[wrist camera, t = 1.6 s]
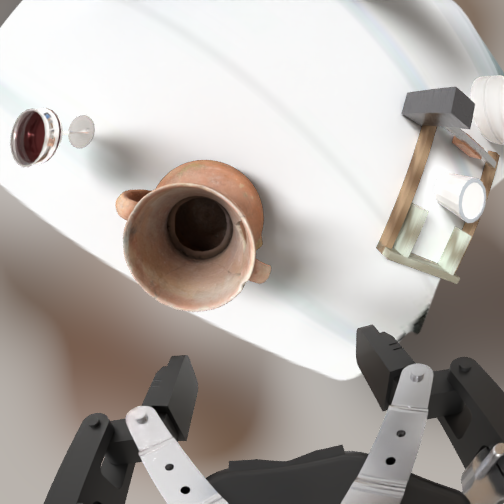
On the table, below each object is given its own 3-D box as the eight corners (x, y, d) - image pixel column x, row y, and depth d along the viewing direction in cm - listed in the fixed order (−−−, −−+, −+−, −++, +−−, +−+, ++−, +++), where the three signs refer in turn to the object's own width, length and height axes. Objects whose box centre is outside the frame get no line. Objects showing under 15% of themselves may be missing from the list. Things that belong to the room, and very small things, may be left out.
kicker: (407, 92, 29) (456, 86, 19) (484, 152, 31) (528, 164, 21) (401, 113, 30) (450, 112, 20) (479, 170, 33) (523, 185, 23)
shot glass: (447, 217, 37) (472, 231, 30) (425, 194, 35) (452, 207, 29) (465, 185, 34) (491, 195, 28) (444, 160, 33) (472, 168, 27)
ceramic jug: (290, 196, 35) (314, 230, 22) (238, 281, 40) (233, 346, 27) (169, 133, 32) (123, 130, 19) (129, 226, 37) (79, 269, 24)
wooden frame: (428, 100, 29) (444, 99, 26) (491, 153, 32) (506, 157, 28) (376, 247, 39) (387, 259, 35) (445, 273, 41) (457, 284, 38)
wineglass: (63, 114, 29) (9, 116, 18) (99, 105, 29) (47, 100, 18) (64, 157, 32) (11, 172, 21) (100, 151, 32) (48, 162, 21)
